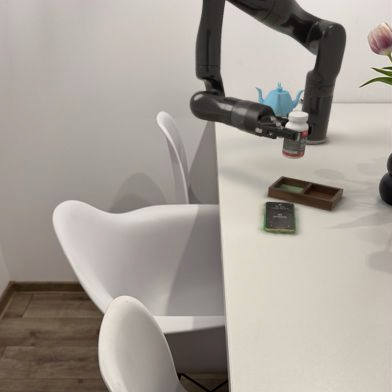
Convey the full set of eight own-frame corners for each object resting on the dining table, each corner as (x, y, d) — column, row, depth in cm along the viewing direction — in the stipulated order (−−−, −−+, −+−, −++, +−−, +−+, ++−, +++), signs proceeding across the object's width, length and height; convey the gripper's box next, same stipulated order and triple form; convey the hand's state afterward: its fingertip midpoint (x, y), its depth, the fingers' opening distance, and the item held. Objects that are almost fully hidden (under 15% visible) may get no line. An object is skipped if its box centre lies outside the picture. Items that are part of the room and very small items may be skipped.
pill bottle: (303, 160, 121) (310, 118, 114) (280, 158, 122) (286, 116, 115) (304, 152, 125) (310, 111, 119) (282, 150, 126) (287, 109, 119)
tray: (280, 184, 134) (281, 175, 133) (341, 198, 128) (343, 188, 126) (267, 196, 128) (268, 187, 127) (331, 211, 122) (332, 201, 120)
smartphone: (263, 228, 113) (264, 200, 124) (263, 232, 113) (264, 204, 125) (296, 230, 112) (294, 202, 123) (295, 233, 113) (294, 205, 124)
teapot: (252, 116, 182) (254, 86, 176) (278, 110, 188) (280, 81, 181) (276, 124, 174) (279, 93, 168) (302, 118, 180) (305, 87, 174)
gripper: (235, 107, 121) (289, 123, 112) (271, 97, 128) (324, 111, 120) (233, 138, 126) (284, 156, 117) (267, 126, 133) (319, 142, 125)
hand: (304, 133), depth 118 cm, fingers closed on pill bottle, 5 cm apart
